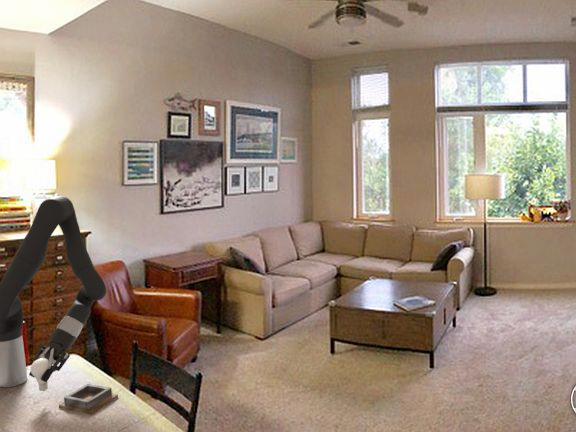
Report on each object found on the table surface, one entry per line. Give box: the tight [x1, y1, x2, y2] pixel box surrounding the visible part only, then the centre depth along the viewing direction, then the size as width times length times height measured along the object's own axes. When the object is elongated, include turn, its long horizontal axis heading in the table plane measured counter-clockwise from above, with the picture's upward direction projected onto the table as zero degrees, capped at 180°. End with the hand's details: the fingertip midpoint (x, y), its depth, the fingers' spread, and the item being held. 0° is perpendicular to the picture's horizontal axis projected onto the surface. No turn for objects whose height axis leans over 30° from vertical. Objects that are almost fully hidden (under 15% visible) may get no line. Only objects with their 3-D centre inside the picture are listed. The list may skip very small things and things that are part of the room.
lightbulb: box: [30, 357, 49, 392], centre depth 168 cm, size 6×6×11 cm
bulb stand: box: [58, 383, 119, 416], centre depth 169 cm, size 14×12×4 cm
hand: (37, 378), depth 167 cm, fingers closed on lightbulb, 6 cm apart
